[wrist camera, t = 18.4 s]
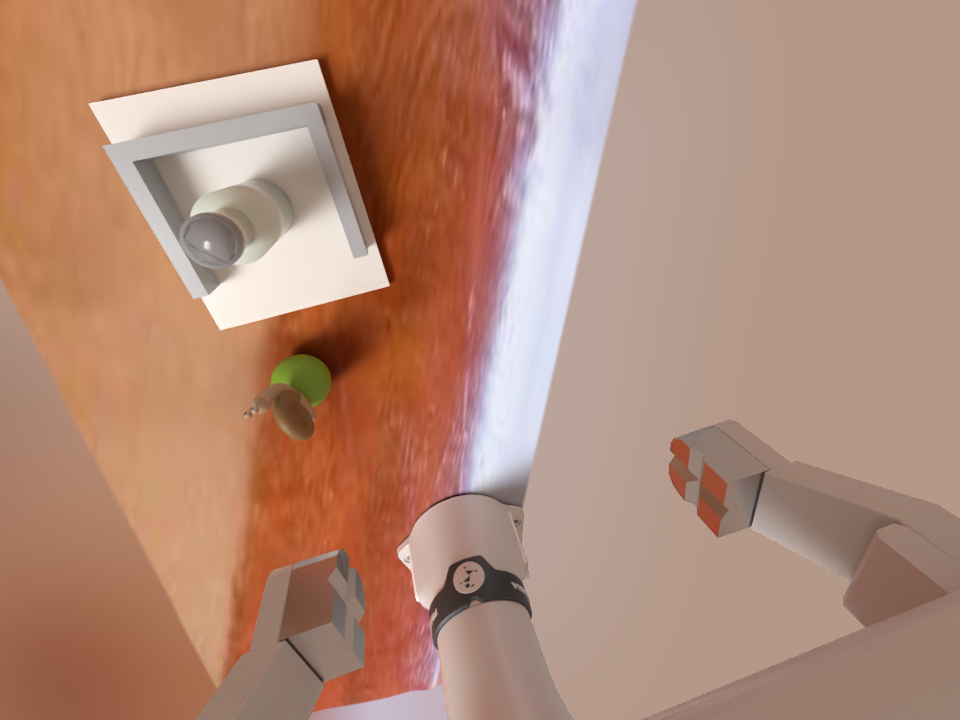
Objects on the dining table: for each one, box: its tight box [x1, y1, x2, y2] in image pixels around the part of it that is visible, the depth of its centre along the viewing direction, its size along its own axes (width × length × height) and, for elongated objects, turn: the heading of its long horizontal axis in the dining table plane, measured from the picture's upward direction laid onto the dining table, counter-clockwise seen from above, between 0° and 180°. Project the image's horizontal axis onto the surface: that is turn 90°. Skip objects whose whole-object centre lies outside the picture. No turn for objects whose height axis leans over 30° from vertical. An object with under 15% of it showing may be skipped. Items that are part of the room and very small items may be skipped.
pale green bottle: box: [179, 179, 294, 269], centre depth 28 cm, size 5×5×13 cm
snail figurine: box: [244, 354, 331, 441], centre depth 36 cm, size 5×6×12 cm
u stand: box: [89, 59, 390, 330], centre depth 33 cm, size 18×16×4 cm
